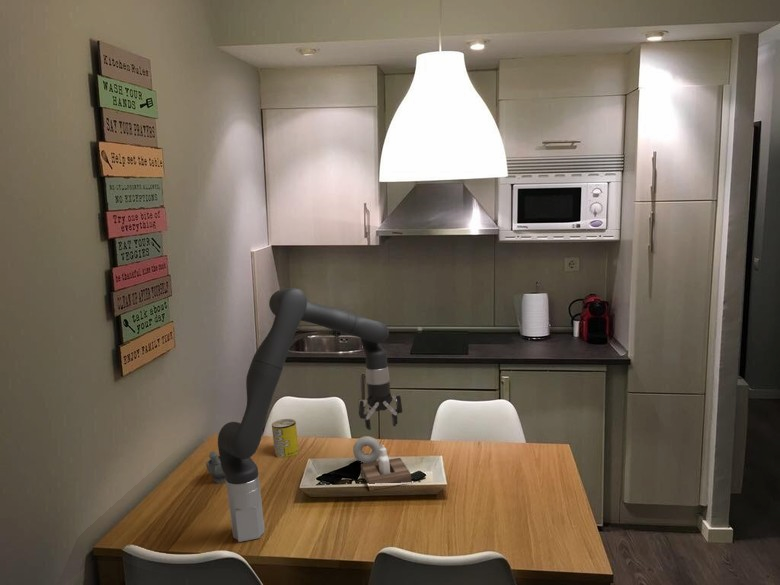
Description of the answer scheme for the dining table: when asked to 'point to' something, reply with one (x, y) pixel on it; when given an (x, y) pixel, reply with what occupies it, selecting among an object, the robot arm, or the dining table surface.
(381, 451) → the eye dropper bottle
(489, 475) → the dining table surface
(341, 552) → the dining table surface
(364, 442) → the donut
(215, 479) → the mortar and pestle
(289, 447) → the beverage can
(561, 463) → the dining table surface
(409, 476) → the walnut socket block
